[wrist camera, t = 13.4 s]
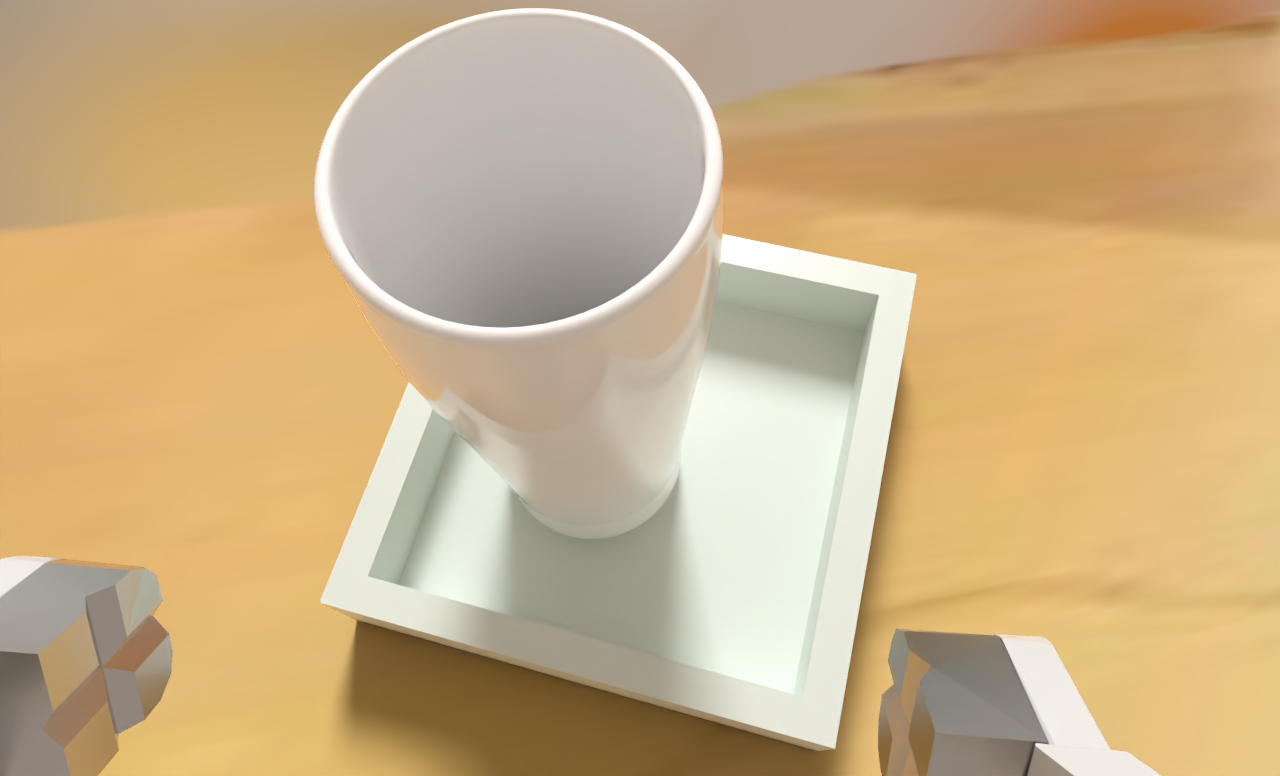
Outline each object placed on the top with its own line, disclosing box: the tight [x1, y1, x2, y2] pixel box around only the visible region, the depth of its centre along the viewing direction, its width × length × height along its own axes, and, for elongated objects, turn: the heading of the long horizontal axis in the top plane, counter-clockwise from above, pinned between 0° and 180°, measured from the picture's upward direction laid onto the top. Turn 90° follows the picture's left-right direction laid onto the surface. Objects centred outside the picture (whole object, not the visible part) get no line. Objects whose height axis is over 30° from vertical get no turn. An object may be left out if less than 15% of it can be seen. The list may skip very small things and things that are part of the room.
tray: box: [320, 234, 917, 751], centre depth 27 cm, size 14×14×3 cm
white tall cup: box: [314, 8, 723, 540], centre depth 21 cm, size 7×7×15 cm
